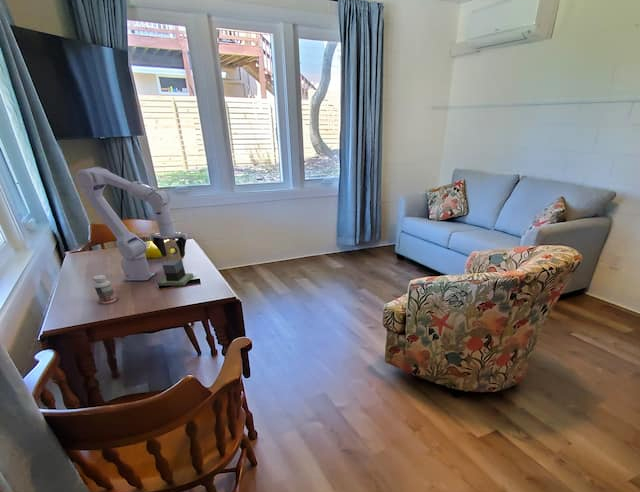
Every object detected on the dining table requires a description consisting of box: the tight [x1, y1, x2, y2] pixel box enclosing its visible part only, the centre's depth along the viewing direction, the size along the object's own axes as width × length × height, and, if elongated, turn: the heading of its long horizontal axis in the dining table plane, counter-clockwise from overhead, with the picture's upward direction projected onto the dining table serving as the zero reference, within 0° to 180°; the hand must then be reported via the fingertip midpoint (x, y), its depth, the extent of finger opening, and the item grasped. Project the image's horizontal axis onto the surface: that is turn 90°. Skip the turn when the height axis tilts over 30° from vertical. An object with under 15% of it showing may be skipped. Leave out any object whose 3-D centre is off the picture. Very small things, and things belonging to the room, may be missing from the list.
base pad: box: [158, 272, 194, 287], centre depth 167 cm, size 10×10×1 cm
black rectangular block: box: [164, 267, 186, 281], centre depth 166 cm, size 5×7×3 cm
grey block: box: [161, 259, 185, 274], centre depth 164 cm, size 5×7×3 cm
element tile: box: [143, 239, 175, 260], centre depth 197 cm, size 15×15×5 cm
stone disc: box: [161, 239, 185, 262], centre depth 185 cm, size 10×4×10 cm, turn 119°
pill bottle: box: [92, 274, 117, 304], centre depth 148 cm, size 5×5×10 cm
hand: (174, 256), depth 165 cm, fingers open, 7 cm apart
